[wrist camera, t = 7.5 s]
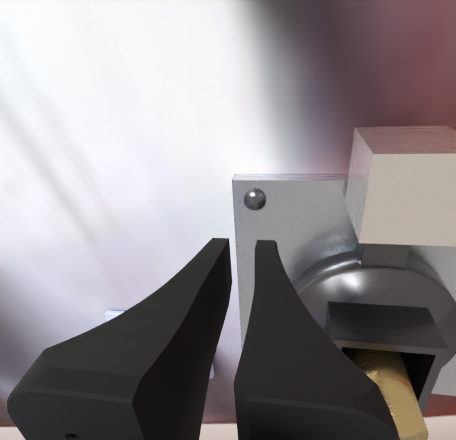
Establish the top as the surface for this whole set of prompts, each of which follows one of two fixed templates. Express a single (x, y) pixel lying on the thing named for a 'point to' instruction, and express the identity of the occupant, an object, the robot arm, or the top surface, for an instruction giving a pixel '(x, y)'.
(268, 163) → the top surface
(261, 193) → the flange plate
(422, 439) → the pin
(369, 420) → the robot arm
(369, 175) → the square socket hub
